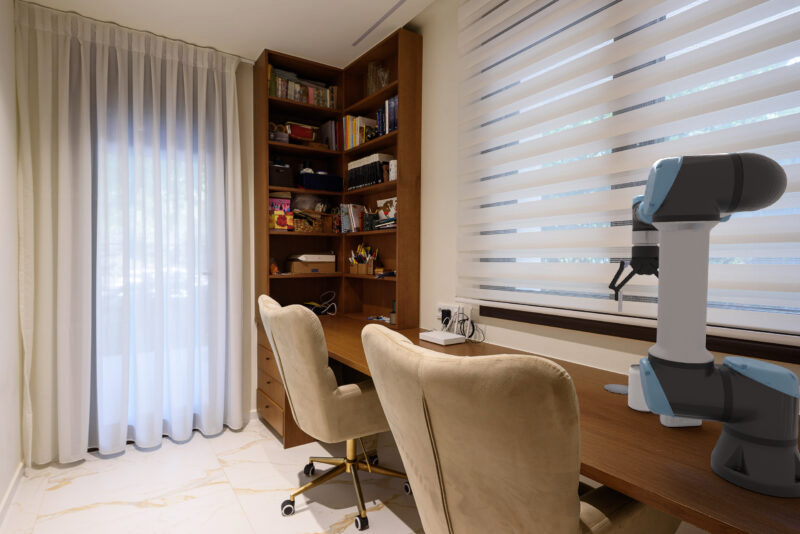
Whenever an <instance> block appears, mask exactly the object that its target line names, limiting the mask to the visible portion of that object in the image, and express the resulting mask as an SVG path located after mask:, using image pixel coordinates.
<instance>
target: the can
mask: <svg viewBox="0 0 800 534" xmlns="http://www.w3.org/2000/svg"><path fill="white" fill-rule="evenodd" d="M639 365H640V363H638V364H637V363H635V364H633V363H632V364H631V365H630V368H629V369H628V385H627V386H628V394H627V398H628V399H627V402H628V403H627V405H628V407H630V409H632V410H635V411H638V412H643V413H644V412H647V413H648V412H651V411H650V410H649V409H648V407H647V405H646V402H645V399H644V395H643V390H642V384H641V378H640V369H639Z"/></svg>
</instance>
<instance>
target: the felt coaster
mask: <svg viewBox="0 0 800 534" xmlns="http://www.w3.org/2000/svg"><path fill="white" fill-rule="evenodd" d="M628 386H629V385H624V384H615V383H610V384H605V385H604V386H603V387H604V388H605V389H606V390H605V389H604V388H603V389H604V390H605V391H607V390H608V391H607V392H609V391H611V392H610V393H612V392H615V393H614V394H616V393H621V394H620V395H626V394H627V395H628Z"/></svg>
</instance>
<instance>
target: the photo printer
mask: <svg viewBox="0 0 800 534" xmlns="http://www.w3.org/2000/svg"><path fill="white" fill-rule="evenodd" d="M659 420H660V421H659V422H660V423H661V425H663V426H665V427H672V428H673V427H675V428H677V427H696V426H701V425H702V424H703V423H702V422H703V420H697V419H688V418H679V417H675V418H673V417H671V416H666V415H660V414H659Z"/></svg>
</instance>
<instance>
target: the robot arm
mask: <svg viewBox="0 0 800 534" xmlns="http://www.w3.org/2000/svg"><path fill="white" fill-rule="evenodd" d="M787 185H788V177H787V174H786V172H785V169H784V168H783V167H782V165H780V164H779V163H778V162H777V161H776V160H774V159H772V158H771V157H768V156H766V155H764V154H760V153H756V152H747V151H746V152H745V151H742V152H741V151H739V152H738V151H737V152H729V153H712V154H711V153H710V154H709V153H708V154H694V155H693V154H692V155H691V154H690V155H689V154H688V155H678V156H673V157H672V156H670V157H665V158H660V159H657V161H655V162H654V163H653V165H652V167H651V168H650V170H649V174H648V177H647V181H646V184H645V190H644V194H639V195H635V196H634V197H633V198H632V205H631V209H632V210H631V212H632V213H631V214H632V215H631V216H632V217H631V219H632V223H631V225H632V229H631V244H632V245H633V246H632V247H631V259H630V261H628V260H627V261H626V260H620V262H619V267H618V269H617V271H616V272H615V274H614V276H613V278H612V279H611V282H610V283H609V285H608V289H610V290H613V291H614V301H615V302H617V306H618V307H617V312H618V313H621V312H623V295H624V294H623V291H622V288H623V287H624V286H625V285H626V284H627V283H629V281H630V280H632V278H633V277H634V276H635V275H638V276H652V275H654V276H655V278H657V279H658V280H657V282H658V283H657V284H658V288H657V322H656V323H657V324H656V342H655V344H653V345H651V346H650V347H649V348H648V350H647V357H642V358H640V359H639V364H640V365H639V369H640V378H641V384H642V390H643V395H644V399H645V402H646V405H647V407H648V409H649V410H650V411H649V412H652V413H653V414H655V415H659V416H660V415H666V416H671V417H673V418H675V417H679V418H688V419H697V420H702V421H707V422H717V423H721V424H722V426H721V433H720V435H719V437H718V439H717V441H716V443H715V445H714V447H713V450H712V452H711V455H710V456H711V457H710V468H711V469H712V470H713V472H714V473H715V474H716V475H717V476H719V477H721V478H722V479H724V480H726V482H727V481H728V482H729V483H731V484H734V485H735V486H737V487H740V488H744V489H746V490H749V491H752V492H755V493H759V494H764V495H767V496H774V497H779V498H780V497H781V498H800V450H799V445H798V443H799V419H800V417H799V415H800V383H799V382H800V380H799V378H798V376H797V374H796V373H794V372H793V371H792V370H791V369H788V368H786V367H783V366H780V365H777V364H774V363H772V362H771V363H770V362H767V361H763V360H758V359H754V358H748V357H743V356H742V357H741V356H735V355H734V356H733V355H732V356H730V355H729V356H725V357H724V358H723V360H722V363H715V357H714V355H713V354H712V353H711V352H710V351H709V350H708V349H707V348H706V343H707V342H706V341H707V337H706V335H707V315H708V312H707V311H708V289H709V288H708V286H709V261H710V260H709V259H710V236H711V235H710V233H711V231H712V230H713V229H714V228H715V227H716V226H717V225H719V223H726V222H728V221H729V220H730V218H731V217H732V215H733V214H735V213H745V212H748V213H749V212H756V211H760V210H763V209H766V208H769V207H771V206H772V205H773V204H775V203H777V202H778V201H779V200H780V199H781V198H782V196H783V195H784V194H785V192H786V190H787V188H788V187H787ZM628 266H630V268H632V270H631V271H630V272H629V274H628V275H626V276H625V278H623V279H622V280H621V281H620V283H618V284H617V282H618V281H619V279H620V277H621V276H622V274H623V272H624V271H625V269H626V268H627V267H628ZM616 284H617V286H616Z"/></svg>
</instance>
